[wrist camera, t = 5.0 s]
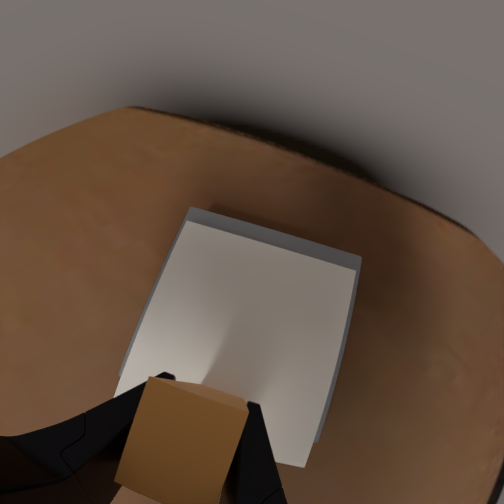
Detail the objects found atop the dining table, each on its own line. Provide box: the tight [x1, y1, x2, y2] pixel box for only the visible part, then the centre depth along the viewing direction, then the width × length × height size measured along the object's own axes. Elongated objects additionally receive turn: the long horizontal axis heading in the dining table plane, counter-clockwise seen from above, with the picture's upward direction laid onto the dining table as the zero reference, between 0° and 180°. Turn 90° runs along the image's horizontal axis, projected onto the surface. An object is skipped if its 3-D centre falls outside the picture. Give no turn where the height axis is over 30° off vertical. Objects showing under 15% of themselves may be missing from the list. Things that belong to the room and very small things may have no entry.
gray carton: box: [118, 206, 362, 442], centre depth 19 cm, size 12×12×2 cm
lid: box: [114, 221, 356, 504], centre depth 12 cm, size 12×11×10 cm
